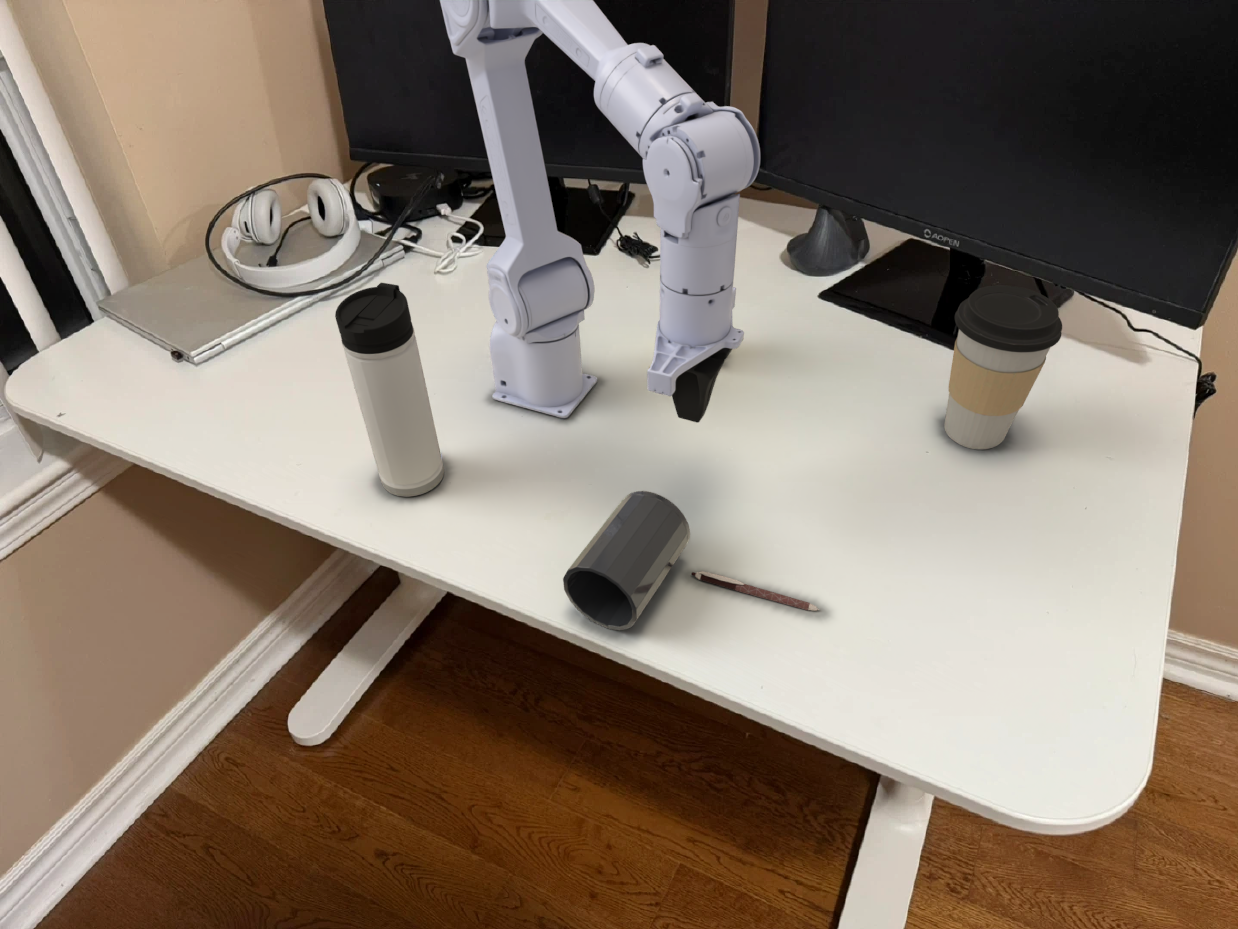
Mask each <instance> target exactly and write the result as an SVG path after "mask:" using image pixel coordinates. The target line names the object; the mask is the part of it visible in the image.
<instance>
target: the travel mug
mask: <svg viewBox="0 0 1238 929" xmlns="http://www.w3.org/2000/svg"><path fill="white" fill-rule="evenodd" d="M334 318H335V321H336V325H337V329H338V332H339V335H340V338H341V345H342V348H343V352H344V355H345V359H346V362H347V366H348V369H349V373H350V377H351V381H352V384H353V387H354V389H355V390H354V391H355V394H356V398H357V402H358V405H359V408H360V412H361V416H362V419H363V422H364V423H363V424H364V426H365V430H366V434H367V436H368V441H369V444H370V448H371V451H372V454H373V458H374V462H375V464H376V469H377V472H378V475H379V479H380V482H381V485H382V487H383V489H384V490H385V491H387V492H388V493H390V494H392V495H394V496H398V497H403V498H404V497H407V498H408V497H409V498H410V497H417V496H420V495H424V494H425V493H429V492H430V491H432V490H433V489H434V488H436V487H437V486H438V485H439V484H440V483H441V481H442V479H443V477H444V475H445V467H444V463H443V459H442V453H441V449H440V444H439V440H438V435H437V430H436V425H435V421H434V415H433V412H432V406H431V403H430V398H429V397H430V396H429V392H428V388H427V387H428V386H427V383H426V378H425V375H424V374H425V373H424V369H423V364H422V360H421V355H420V350H419V345H418V340H417V337H416V335H415V334H416V333H415V328H414V325H413V322H412V316H411V312H410V307H409V302H408V299H407V297H406V295H405V294H404V293H403V292H402V291H401V289H400V285H398V284H394V283H388V282H387V283H386V282H380V283H378V284H377V285H376V286H372V287H367V288H363V289H360V290H358V291H355V292H353V293H351V294H349V295H348V296H347V297H345V298H344V299H343V300H342V301H341V302H340V303H339V304H338V306H337V307H336V310H335V313H334Z"/></svg>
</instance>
